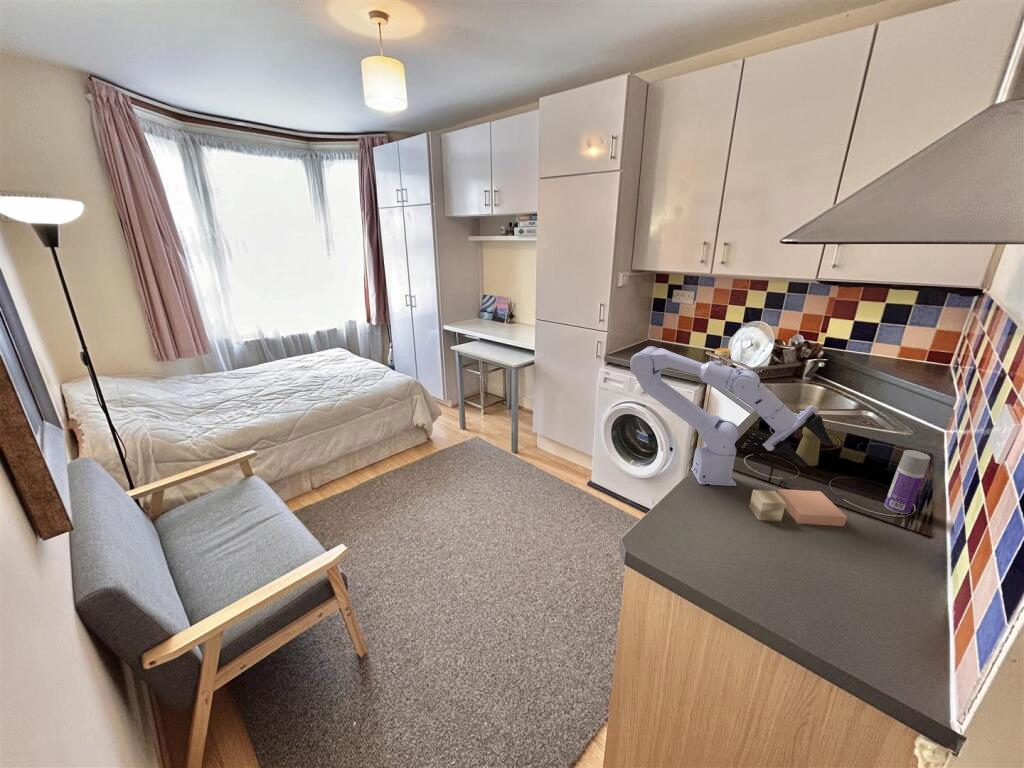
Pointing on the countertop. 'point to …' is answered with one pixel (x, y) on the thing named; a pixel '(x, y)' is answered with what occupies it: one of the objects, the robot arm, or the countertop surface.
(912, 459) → the container
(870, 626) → the countertop surface
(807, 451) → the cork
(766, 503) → the beech cube
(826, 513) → the terracotta block
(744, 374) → the robot arm
